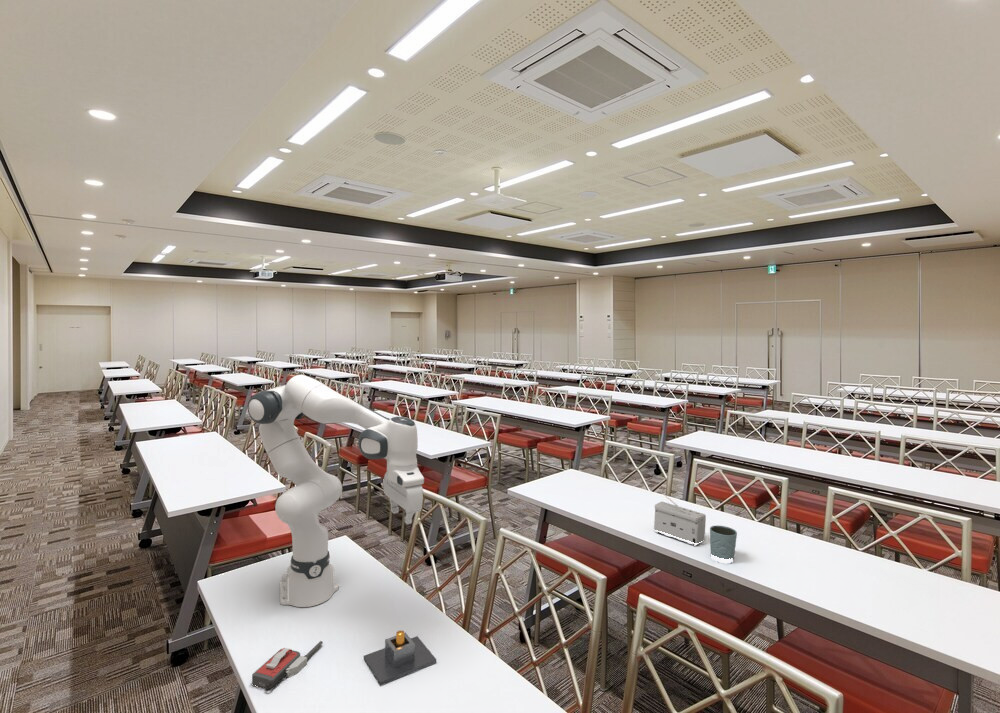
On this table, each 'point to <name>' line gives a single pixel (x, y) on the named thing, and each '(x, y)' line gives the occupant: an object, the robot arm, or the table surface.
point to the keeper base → (386, 671)
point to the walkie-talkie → (280, 667)
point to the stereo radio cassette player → (679, 521)
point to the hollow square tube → (399, 651)
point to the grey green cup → (722, 541)
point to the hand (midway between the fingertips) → (401, 517)
